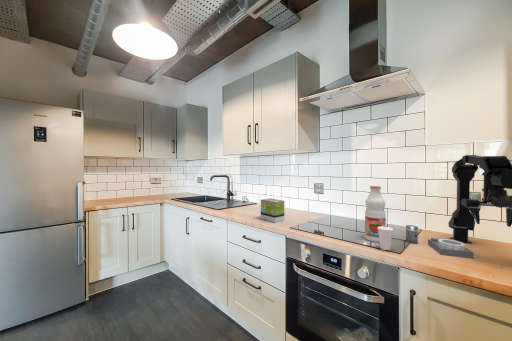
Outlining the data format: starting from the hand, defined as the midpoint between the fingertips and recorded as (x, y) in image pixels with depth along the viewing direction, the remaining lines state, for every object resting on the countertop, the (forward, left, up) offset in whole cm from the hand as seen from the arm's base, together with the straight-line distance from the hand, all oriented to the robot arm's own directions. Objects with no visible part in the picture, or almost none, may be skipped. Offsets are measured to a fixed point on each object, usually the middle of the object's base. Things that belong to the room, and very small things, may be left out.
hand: (493, 225), depth 88 cm
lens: (-15, -24, -14) cm, 31 cm away
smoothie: (+1, -39, -15) cm, 41 cm away
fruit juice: (-13, -41, -15) cm, 45 cm away
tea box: (-36, -103, -15) cm, 110 cm away
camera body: (-7, -12, -14) cm, 20 cm away
